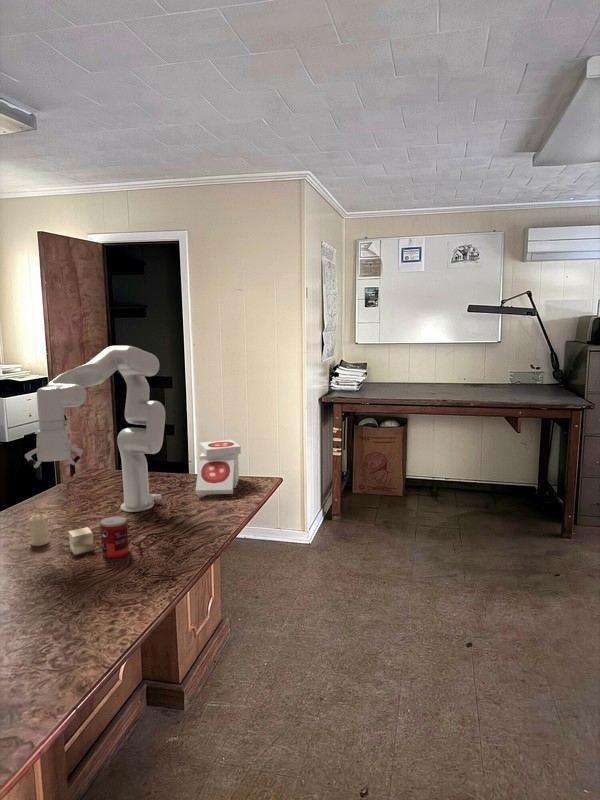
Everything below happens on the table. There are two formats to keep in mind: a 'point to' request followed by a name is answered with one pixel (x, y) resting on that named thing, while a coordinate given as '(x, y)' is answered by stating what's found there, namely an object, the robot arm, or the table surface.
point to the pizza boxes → (218, 467)
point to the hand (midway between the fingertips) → (56, 477)
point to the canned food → (114, 537)
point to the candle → (39, 529)
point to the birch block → (81, 540)
